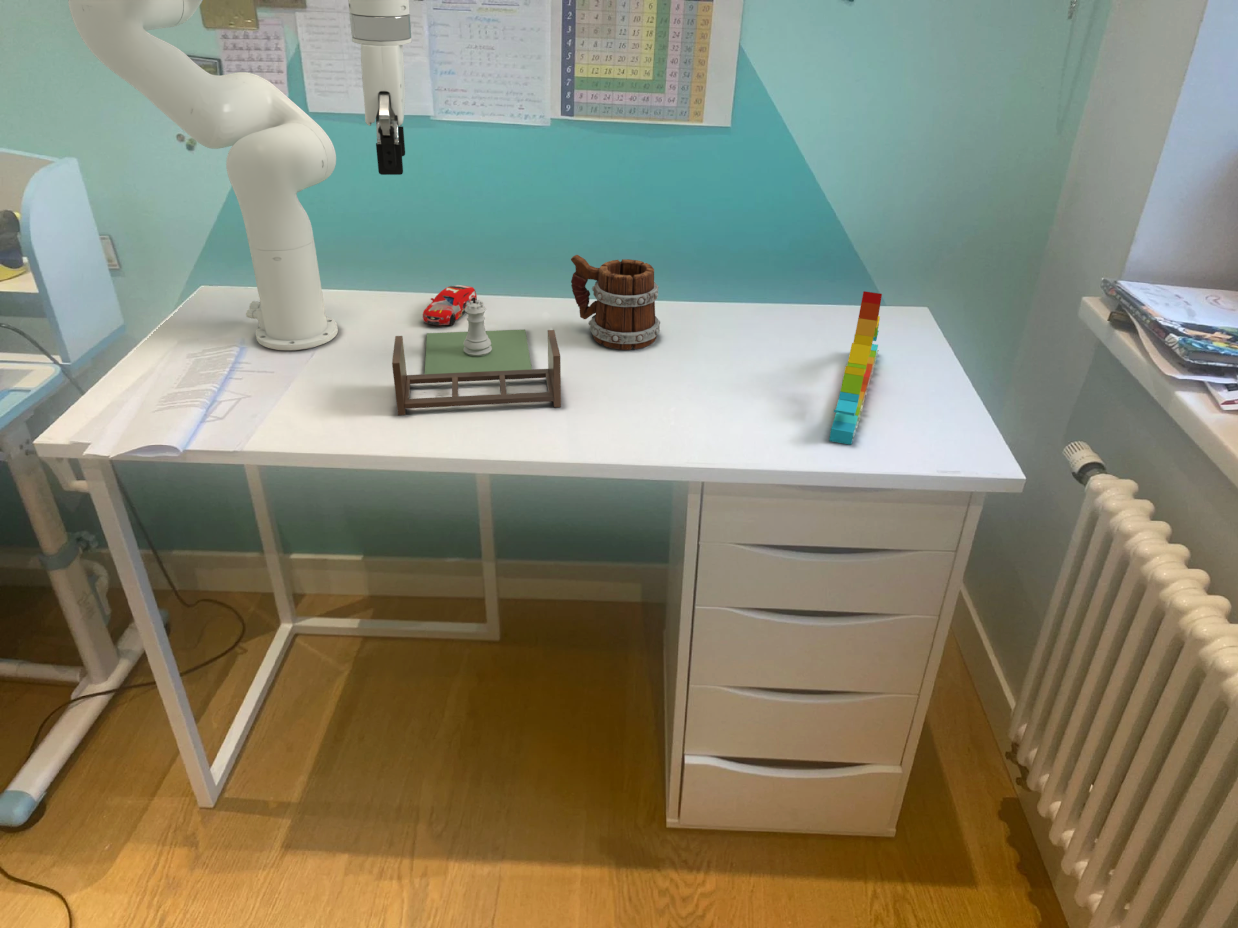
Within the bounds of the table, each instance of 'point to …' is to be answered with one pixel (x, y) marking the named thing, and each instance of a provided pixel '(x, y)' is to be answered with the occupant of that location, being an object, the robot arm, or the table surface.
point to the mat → (451, 358)
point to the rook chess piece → (476, 331)
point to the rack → (404, 380)
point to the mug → (618, 302)
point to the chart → (857, 371)
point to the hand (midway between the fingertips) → (392, 164)
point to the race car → (449, 305)
